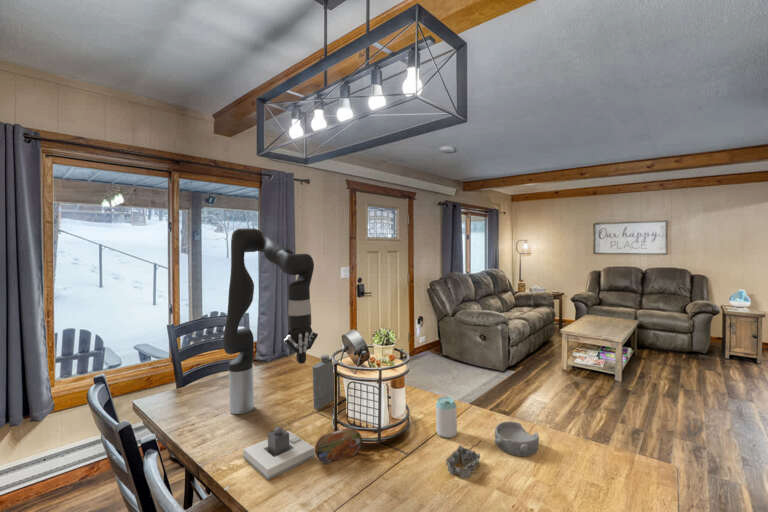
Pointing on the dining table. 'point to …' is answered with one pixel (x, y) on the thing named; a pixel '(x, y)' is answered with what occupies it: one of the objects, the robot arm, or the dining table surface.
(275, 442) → the plug
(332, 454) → the tin
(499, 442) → the dish
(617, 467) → the dining table surface
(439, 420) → the can
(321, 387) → the hip flask
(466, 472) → the grey jagged ring
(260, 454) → the socket
